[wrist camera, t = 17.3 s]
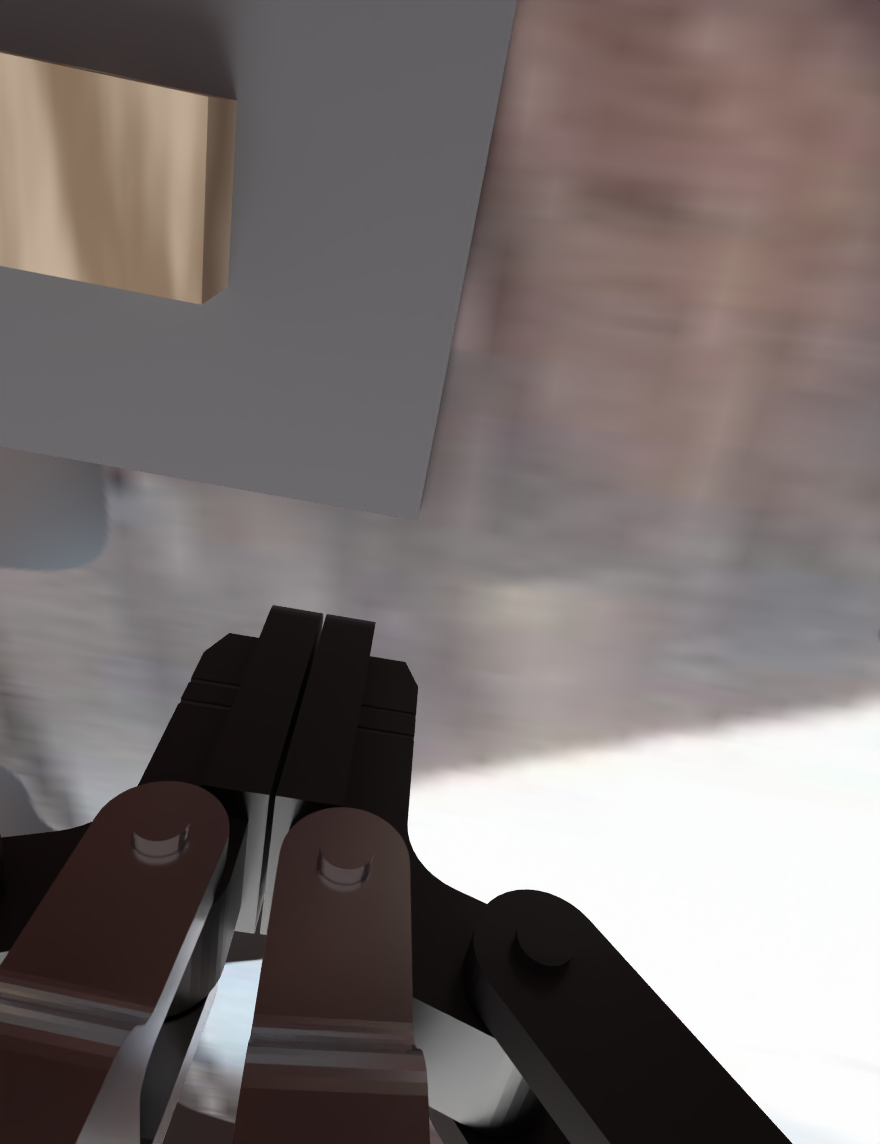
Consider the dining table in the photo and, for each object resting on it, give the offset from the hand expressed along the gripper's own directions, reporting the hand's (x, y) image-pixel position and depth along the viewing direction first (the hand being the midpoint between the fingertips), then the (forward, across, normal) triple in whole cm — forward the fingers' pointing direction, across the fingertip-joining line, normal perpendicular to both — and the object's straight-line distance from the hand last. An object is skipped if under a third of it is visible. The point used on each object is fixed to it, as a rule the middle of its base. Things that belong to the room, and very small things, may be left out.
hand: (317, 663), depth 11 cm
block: (+24, +8, -3) cm, 25 cm away
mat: (+27, +9, -3) cm, 29 cm away
